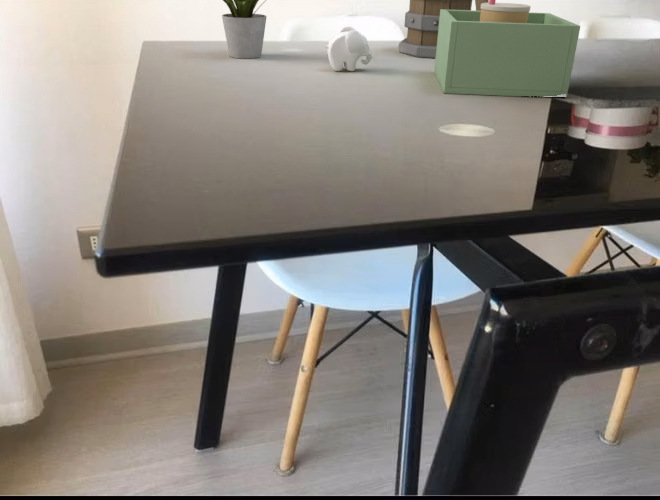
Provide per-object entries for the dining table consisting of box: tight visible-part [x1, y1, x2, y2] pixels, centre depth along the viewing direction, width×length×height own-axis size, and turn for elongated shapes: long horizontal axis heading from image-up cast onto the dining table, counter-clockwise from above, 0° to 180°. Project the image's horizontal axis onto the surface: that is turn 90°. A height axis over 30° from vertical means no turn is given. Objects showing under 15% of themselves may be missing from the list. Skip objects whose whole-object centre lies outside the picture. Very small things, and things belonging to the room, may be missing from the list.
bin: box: [434, 9, 581, 98], centre depth 86 cm, size 16×16×9 cm
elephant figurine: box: [320, 25, 375, 72], centre depth 93 cm, size 7×8×6 cm
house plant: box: [221, 0, 267, 59], centre depth 99 cm, size 14×14×16 cm
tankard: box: [398, 0, 489, 59], centre depth 105 cm, size 20×13×15 cm, turn 30°
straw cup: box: [480, 0, 531, 23], centre depth 84 cm, size 6×6×14 cm
